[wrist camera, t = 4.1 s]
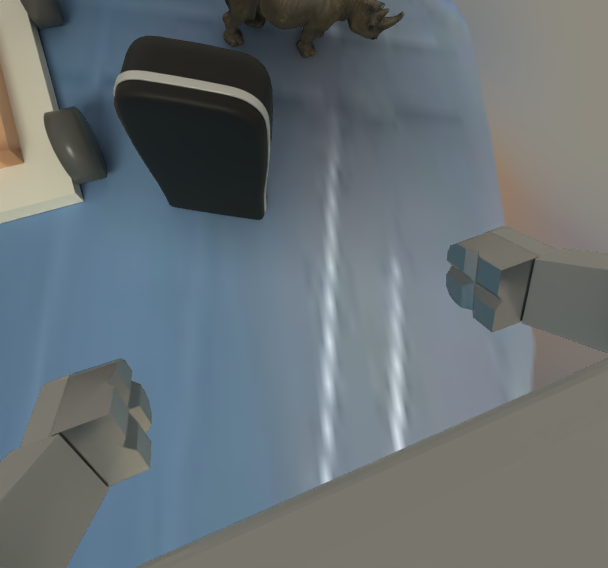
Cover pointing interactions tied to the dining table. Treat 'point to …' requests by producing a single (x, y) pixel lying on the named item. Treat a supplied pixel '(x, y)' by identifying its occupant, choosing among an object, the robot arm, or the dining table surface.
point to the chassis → (38, 121)
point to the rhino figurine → (307, 18)
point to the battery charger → (199, 123)
